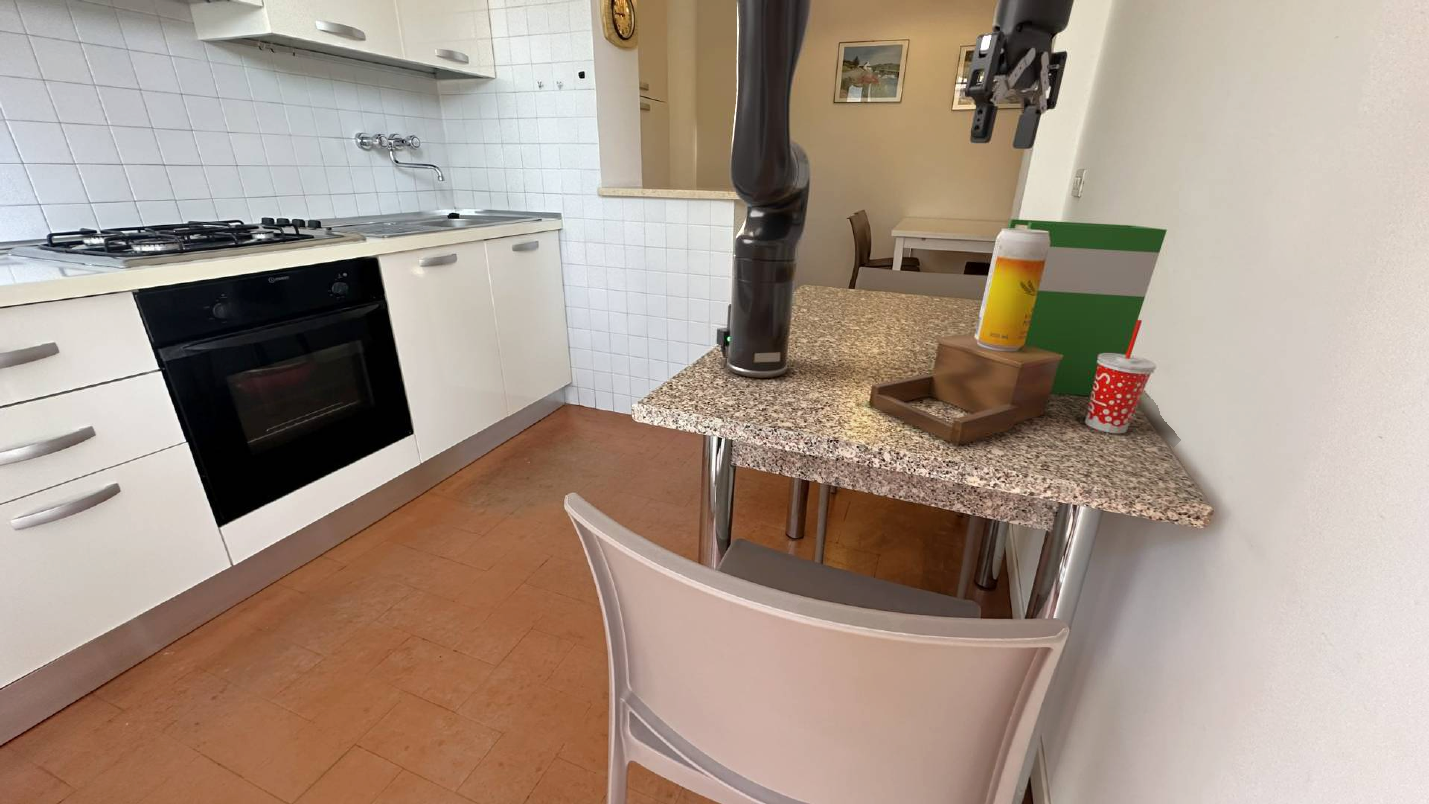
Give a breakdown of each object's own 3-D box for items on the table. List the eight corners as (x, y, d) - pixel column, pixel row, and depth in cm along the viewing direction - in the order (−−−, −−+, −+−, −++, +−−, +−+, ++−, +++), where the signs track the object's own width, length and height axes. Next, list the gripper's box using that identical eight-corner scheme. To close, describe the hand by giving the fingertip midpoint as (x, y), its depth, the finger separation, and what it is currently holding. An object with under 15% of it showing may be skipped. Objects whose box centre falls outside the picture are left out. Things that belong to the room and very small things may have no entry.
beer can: (1028, 354, 73) (1060, 233, 68) (978, 349, 74) (1005, 230, 69) (1015, 342, 79) (1043, 229, 73) (969, 338, 80) (993, 226, 74)
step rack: (868, 405, 77) (877, 345, 74) (962, 384, 87) (974, 330, 84) (957, 446, 66) (972, 377, 63) (1052, 416, 77) (1069, 356, 73)
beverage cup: (1075, 413, 78) (1106, 312, 73) (1128, 422, 76) (1164, 319, 71) (1080, 429, 73) (1114, 321, 68) (1137, 439, 70) (1176, 329, 65)
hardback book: (991, 388, 86) (1031, 222, 77) (974, 373, 93) (1009, 219, 84) (1112, 396, 85) (1166, 229, 76) (1086, 380, 92) (1133, 225, 83)
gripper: (1041, 1, 68) (1006, 150, 74) (967, -28, 60) (935, 141, 66) (1109, -13, 62) (1065, 151, 68) (1036, -46, 54) (994, 140, 61)
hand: (1001, 145), depth 67 cm, fingers open, 8 cm apart
